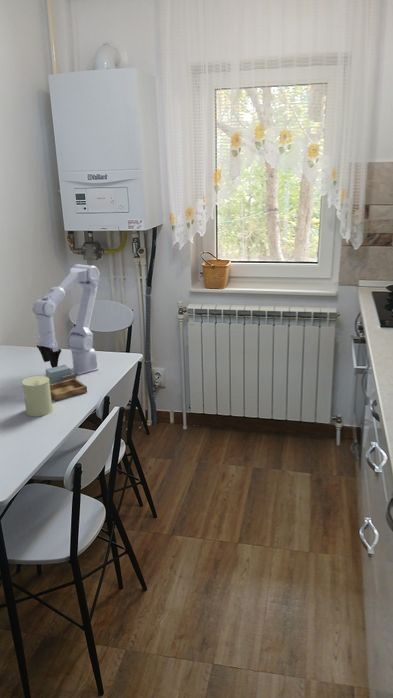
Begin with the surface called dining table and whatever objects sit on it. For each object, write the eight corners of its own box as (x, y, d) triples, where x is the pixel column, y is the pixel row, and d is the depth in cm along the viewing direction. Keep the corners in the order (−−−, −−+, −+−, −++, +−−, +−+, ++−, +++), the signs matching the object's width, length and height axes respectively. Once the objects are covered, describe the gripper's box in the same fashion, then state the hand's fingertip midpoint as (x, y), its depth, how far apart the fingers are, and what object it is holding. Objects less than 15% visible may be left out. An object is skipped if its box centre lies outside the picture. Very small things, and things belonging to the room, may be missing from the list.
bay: (67, 375, 223) (66, 367, 222) (76, 382, 216) (75, 374, 215) (54, 379, 220) (53, 371, 219) (63, 385, 213) (62, 377, 212)
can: (28, 418, 187) (24, 386, 183) (23, 408, 194) (19, 377, 190) (55, 412, 191) (52, 381, 187) (49, 403, 198) (45, 372, 194)
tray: (75, 384, 215) (74, 378, 214) (87, 392, 207) (86, 386, 206) (44, 392, 208) (43, 386, 207) (55, 401, 200) (55, 395, 199)
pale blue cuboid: (65, 378, 221) (64, 364, 219) (71, 382, 217) (69, 368, 215) (47, 383, 216) (45, 369, 214) (52, 387, 213) (50, 372, 211)
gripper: (29, 328, 211) (33, 361, 216) (43, 337, 200) (48, 371, 205) (46, 325, 215) (50, 357, 220) (61, 333, 204) (65, 367, 209)
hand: (50, 364), depth 212 cm, fingers open, 7 cm apart
